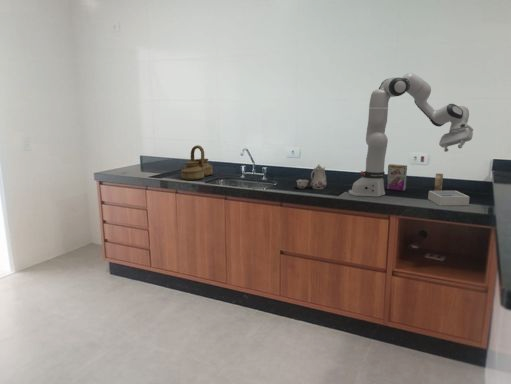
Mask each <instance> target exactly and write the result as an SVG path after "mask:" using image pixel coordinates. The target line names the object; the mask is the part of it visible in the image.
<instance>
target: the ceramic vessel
mask: <svg viewBox="0 0 511 384" xmlns="http://www.w3.org/2000/svg"><path fill="white" fill-rule="evenodd" d="M196 150H199V151H200V158H196V159H195V151H196ZM208 161H209V159H208V158H205V150H204V148H203V147H202V146H201V145H199V144H198V145H194V146H193V147H192V148H191V151H190V160H189V161H185V162H184V165H186V167H183V166H182V167H181V168H180V169H181V170H180V171H181V173H180V174H181V177H180V178H181V179H183V180H185V181H195V180H200V179H201V180H202V179H204V178H205V177H206V176H210V175H211V176H212V175H213V174H214V170H213V165H212V164H210V163H208Z"/></svg>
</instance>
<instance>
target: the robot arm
mask: <svg viewBox="0 0 511 384" xmlns="http://www.w3.org/2000/svg"><path fill="white" fill-rule="evenodd" d="M379 85H380V86H379V87H378V88H377V89H375V90H373V91H372V93H371V94H370V95H371V96H370V99H369V105H368V106H369V107H368V117H367V119H368V120H367V128H366V133H365V134H366V135H365V143H366V144H367V154H366V158H365V159H366V160H365V170H364V171H363V170H361V171H360V173H359V174H360V175H362V176H361V177H360V178H359V179H357V180H356V181H355V182H353V184H352V188H351V189H349V190H348V192H349V193H348V194H349V195H351V196H353V197H354V196H355V197H381V196H385V195H386V191H385V176H386V174H385V172H386V171H385V159H386V154H387V148H388V142H389V141H388V137H387V135H386V127H387V122H388V114H389V102H390V99H391V98H395V97H401V96H402V95H403V94H405V93H407V94H409V95H410V96H411V97H412V98H413V99H414V105H416V106H417V108H418V109H419V110H420V111H421V112H422V113H423V114H424V115H425V116H426V117H427V118H428V119H429V122H430V123H431V124H432V125H433V126H435V127H442V126H444V125H445V124H447V123H450V128H449V131H448V132H447V133H444V134H443V135H442V136H441V137H440V140H439V142H438V144H439V146H440V147H441V148H444V149H443V151H444V152H445V153H446V152H449V147H452V146H455V145H457V148H458V149H462V148H463V146H464V145H465V144H466V142H469V141H471V140H472V138H473V135H474V133H473V132H474V129H473V128H472V127H471V126H470V125H469V124H468V122H469V117H470V111H469V109H468V107H466V106H464V105H457V104H454V103H448V104H447V105H445V106H443V107H441V108H438V109H434V107H432V105H430V103H429V102H427V100H428V99H429V97H430V95H431V92H432V87H431V85H430V84H429V83H428V82H426V81H425V80H424V79H423V78H422V77H420V76H419V75H416V74H414V73H413V72H407V73H406V74H404V75H403V76H402V77H390V78H386V79H384V80H383V81H382V82H381V84H379Z"/></svg>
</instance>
